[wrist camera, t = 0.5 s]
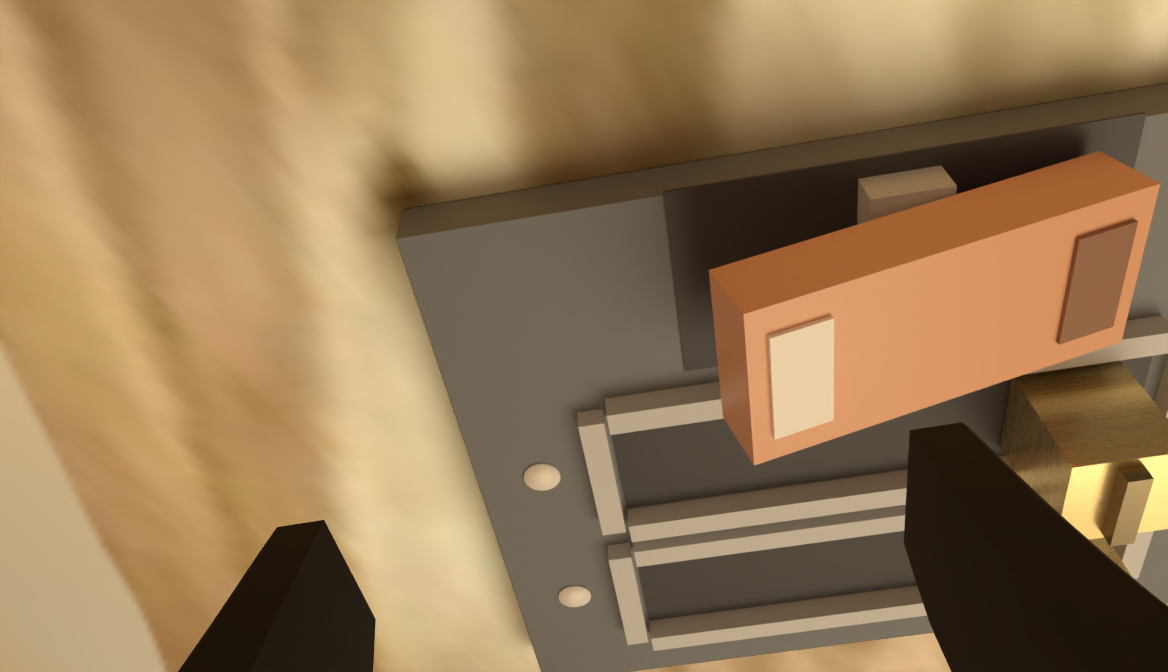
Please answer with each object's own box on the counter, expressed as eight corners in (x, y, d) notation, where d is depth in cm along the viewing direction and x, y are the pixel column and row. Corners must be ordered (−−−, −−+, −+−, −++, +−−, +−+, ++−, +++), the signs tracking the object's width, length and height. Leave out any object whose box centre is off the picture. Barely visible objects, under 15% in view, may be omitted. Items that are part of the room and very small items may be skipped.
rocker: (1069, 302, 20) (1125, 344, 18) (722, 416, 18) (756, 468, 17) (1099, 150, 17) (1165, 185, 16) (709, 270, 16) (746, 317, 15)
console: (1196, 562, 28) (1239, 621, 26) (544, 648, 29) (545, 709, 27) (1395, 40, 18) (1484, 81, 16) (401, 205, 19) (388, 258, 18)
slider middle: (1100, 434, 22) (1177, 543, 20) (999, 448, 22) (1063, 558, 20) (1118, 358, 21) (1205, 465, 18) (1011, 373, 21) (1081, 481, 18)
